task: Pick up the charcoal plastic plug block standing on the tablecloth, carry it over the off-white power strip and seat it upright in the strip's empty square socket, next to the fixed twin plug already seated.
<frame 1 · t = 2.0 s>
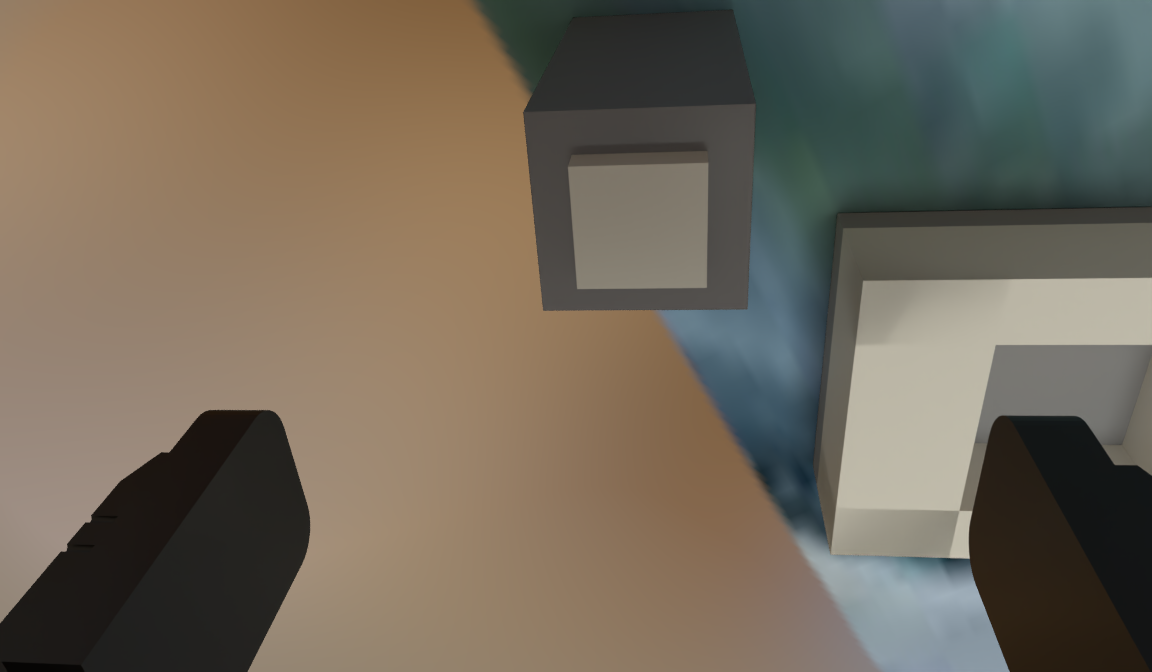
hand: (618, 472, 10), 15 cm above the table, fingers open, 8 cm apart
plug: (653, 93, 23), on the table
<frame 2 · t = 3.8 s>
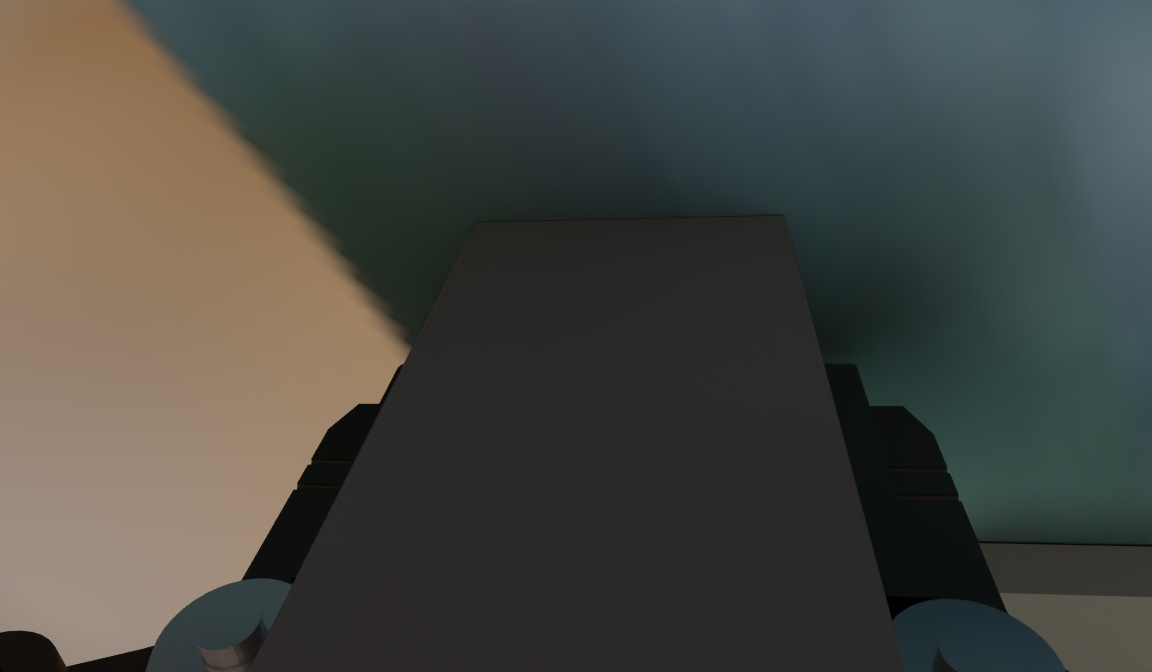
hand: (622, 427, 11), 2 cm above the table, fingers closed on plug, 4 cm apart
plug: (631, 350, 12), on the table, touching gripper
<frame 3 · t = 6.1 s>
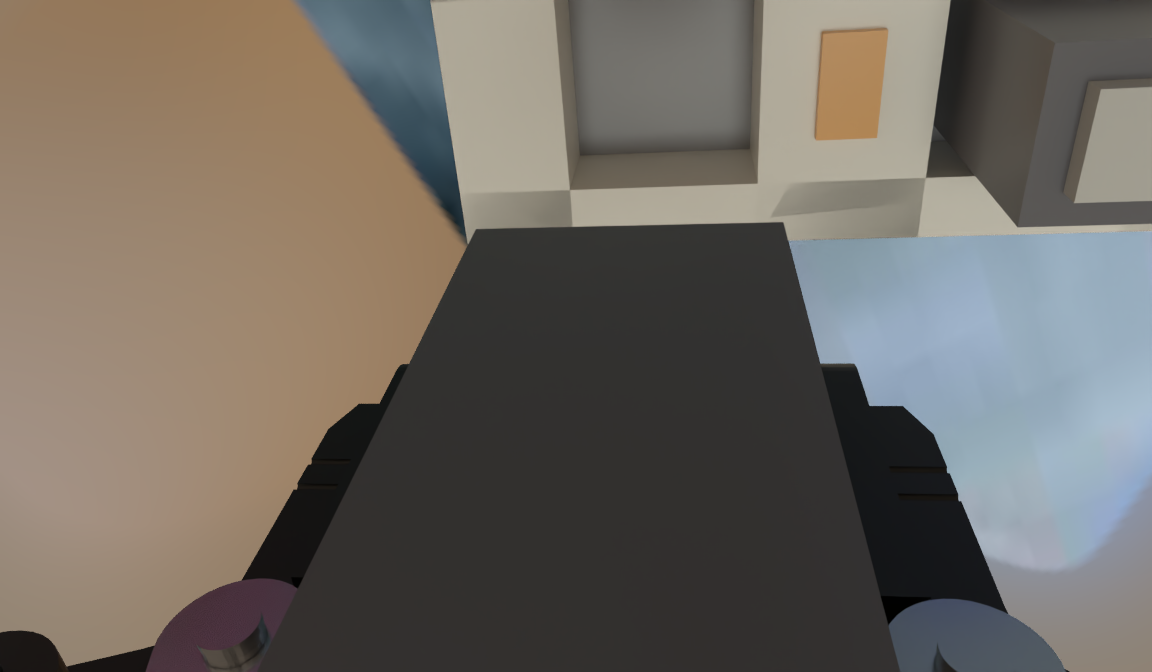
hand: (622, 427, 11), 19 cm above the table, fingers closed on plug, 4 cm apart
strip: (826, 49, 26), on the table
twin plug: (1010, 48, 25), resting on strip
plug: (631, 355, 12), point 17 cm above the table, touching gripper
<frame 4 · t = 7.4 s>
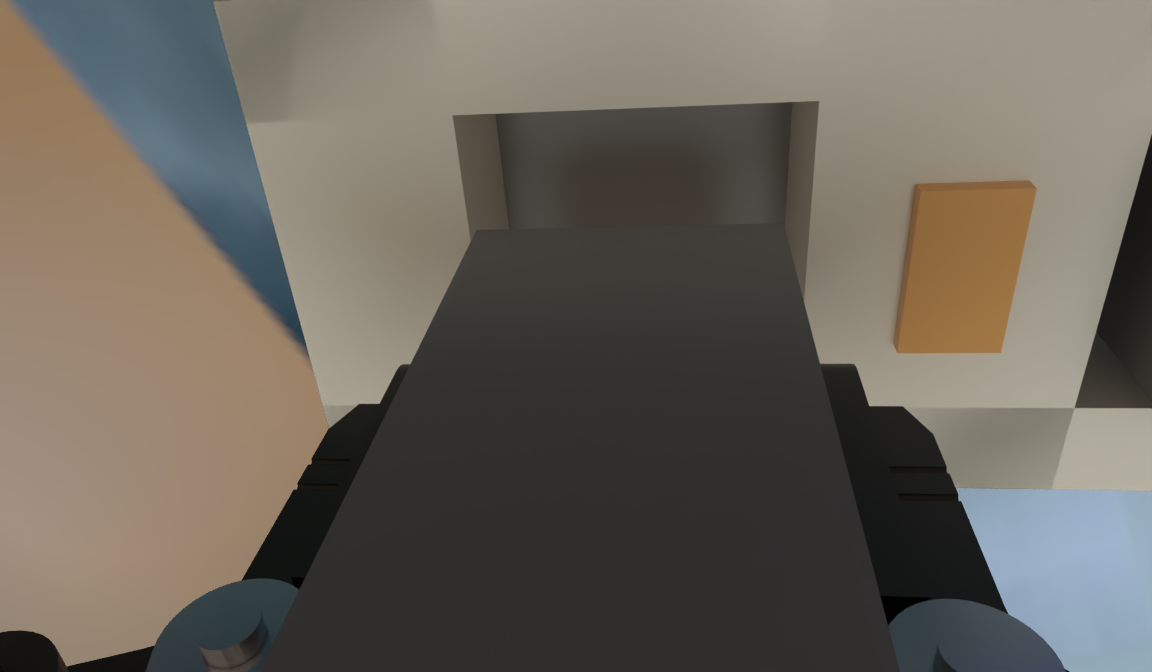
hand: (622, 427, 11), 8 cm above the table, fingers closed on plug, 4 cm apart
strip: (901, 175, 17), on the table
plug: (632, 356, 12), point 6 cm above the table, touching gripper
when the fingers open (5 cm above the table, at t = 8.3 s): plug drops 2 cm, resting on strip.
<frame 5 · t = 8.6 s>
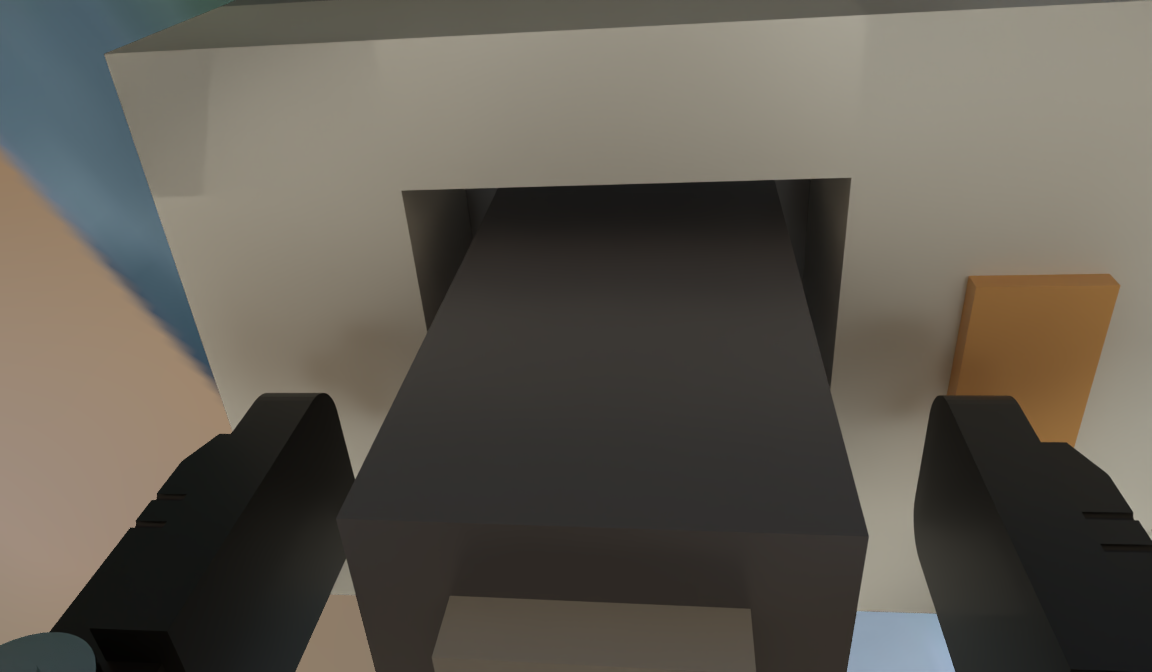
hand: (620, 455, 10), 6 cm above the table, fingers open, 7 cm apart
strip: (936, 241, 14), on the table
plug: (639, 278, 14), point 1 cm above the table, touching strip
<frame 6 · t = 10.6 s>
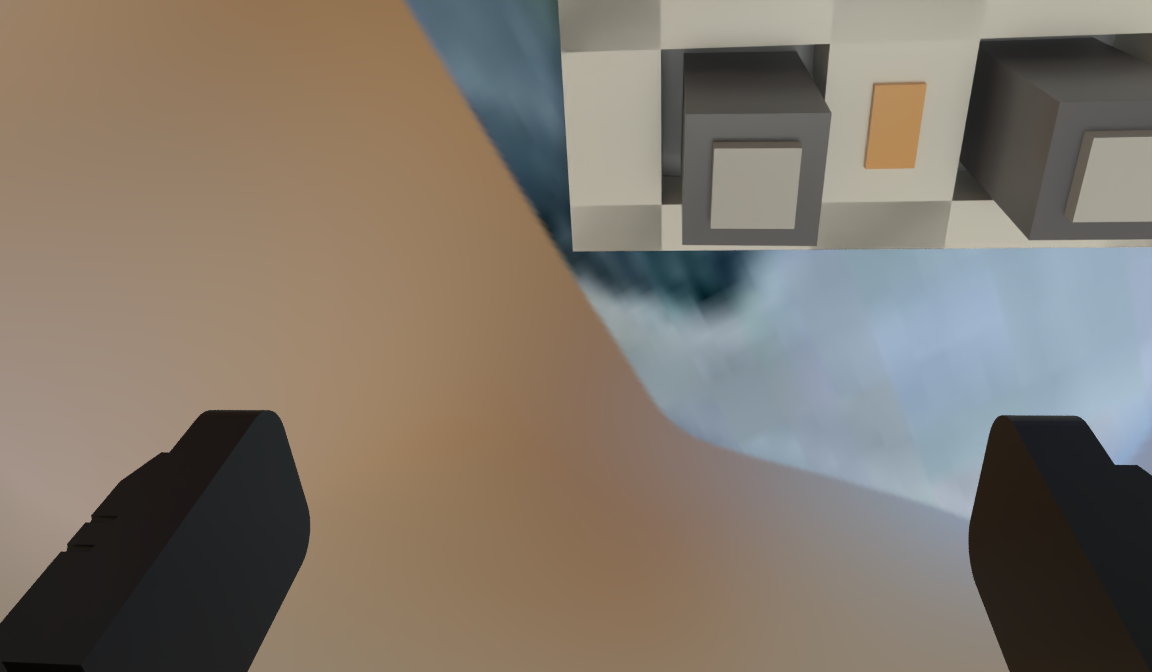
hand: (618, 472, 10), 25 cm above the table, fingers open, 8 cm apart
strip: (869, 94, 32), on the table
twin plug: (1020, 97, 31), resting on strip
plug: (736, 107, 32), point 1 cm above the table, touching strip
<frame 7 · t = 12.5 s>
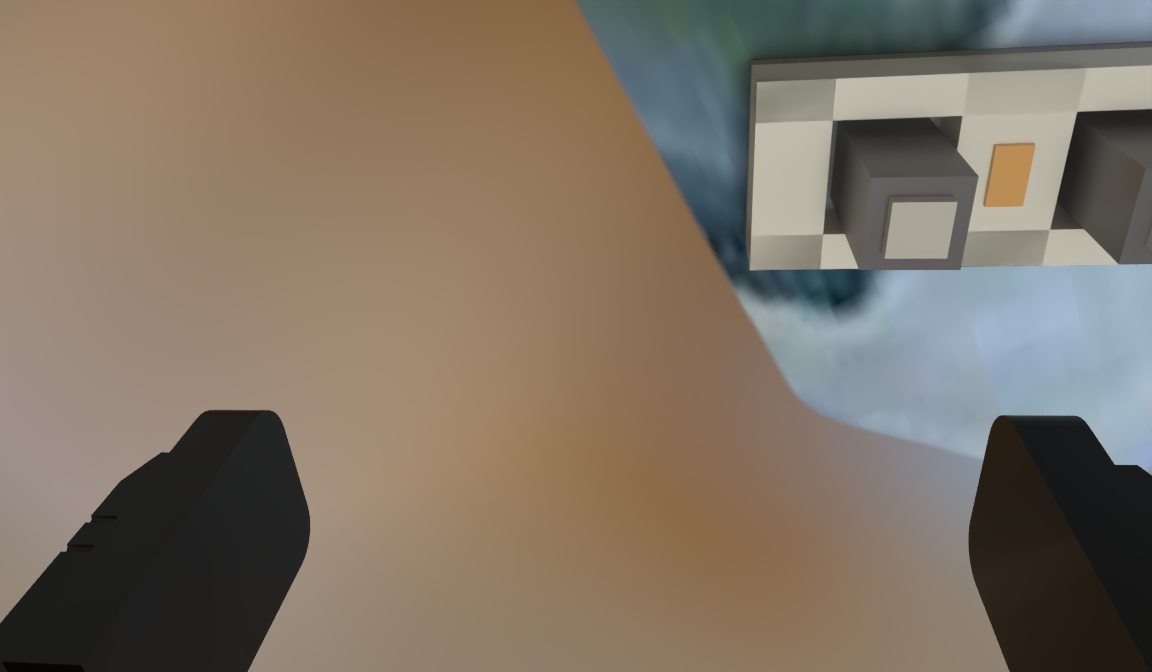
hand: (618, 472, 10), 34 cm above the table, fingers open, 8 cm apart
strip: (980, 145, 41), on the table
twin plug: (1100, 148, 40), resting on strip
plug: (877, 157, 41), point 1 cm above the table, touching strip
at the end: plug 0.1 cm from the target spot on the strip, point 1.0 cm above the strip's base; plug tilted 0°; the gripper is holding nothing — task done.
